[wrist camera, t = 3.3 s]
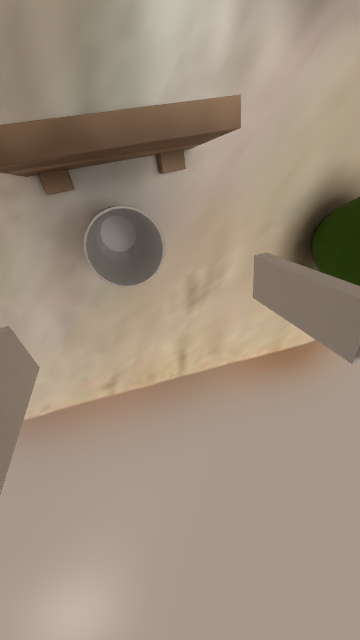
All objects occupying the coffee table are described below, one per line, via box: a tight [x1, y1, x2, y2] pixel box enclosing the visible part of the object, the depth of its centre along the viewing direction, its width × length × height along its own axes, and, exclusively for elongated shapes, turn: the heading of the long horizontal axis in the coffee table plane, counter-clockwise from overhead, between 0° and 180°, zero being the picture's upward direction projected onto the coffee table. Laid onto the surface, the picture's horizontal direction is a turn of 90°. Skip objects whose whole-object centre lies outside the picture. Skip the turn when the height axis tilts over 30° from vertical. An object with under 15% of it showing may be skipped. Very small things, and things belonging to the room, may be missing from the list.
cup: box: [84, 206, 165, 287], centre depth 26 cm, size 8×8×10 cm
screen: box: [0, 95, 241, 194], centre depth 21 cm, size 6×20×12 cm, turn 100°
